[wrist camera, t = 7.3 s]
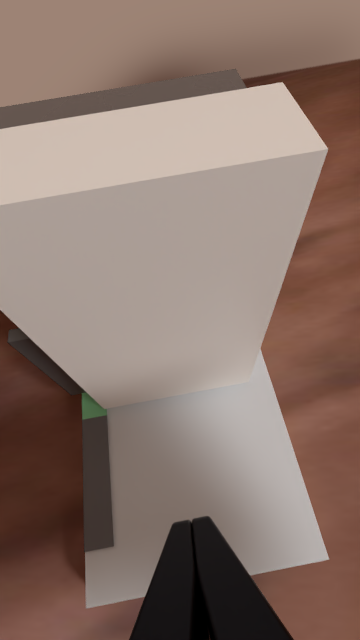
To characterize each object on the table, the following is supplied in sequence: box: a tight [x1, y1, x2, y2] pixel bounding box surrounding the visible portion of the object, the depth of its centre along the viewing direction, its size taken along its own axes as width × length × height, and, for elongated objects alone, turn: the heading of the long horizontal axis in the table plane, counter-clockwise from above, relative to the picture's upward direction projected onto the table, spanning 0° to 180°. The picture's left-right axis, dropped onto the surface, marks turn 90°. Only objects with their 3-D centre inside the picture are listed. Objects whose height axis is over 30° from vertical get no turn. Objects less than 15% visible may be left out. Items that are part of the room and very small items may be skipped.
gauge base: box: [82, 349, 329, 608], centre depth 15 cm, size 14×8×2 cm, turn 10°
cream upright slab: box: [0, 82, 328, 409], centre depth 10 cm, size 4×7×10 cm, turn 100°
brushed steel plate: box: [0, 69, 246, 129], centre depth 14 cm, size 2×8×8 cm, turn 100°
